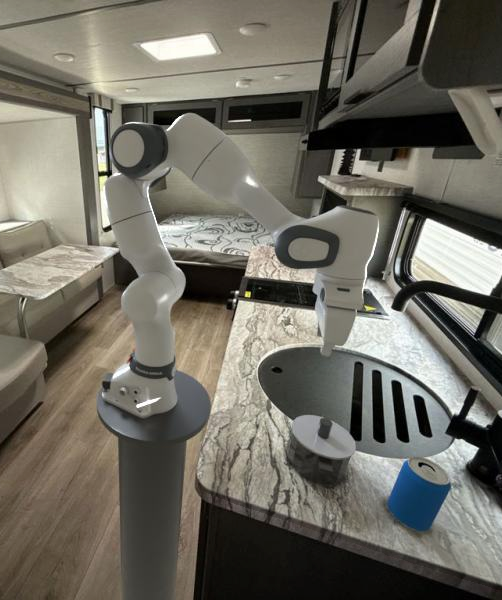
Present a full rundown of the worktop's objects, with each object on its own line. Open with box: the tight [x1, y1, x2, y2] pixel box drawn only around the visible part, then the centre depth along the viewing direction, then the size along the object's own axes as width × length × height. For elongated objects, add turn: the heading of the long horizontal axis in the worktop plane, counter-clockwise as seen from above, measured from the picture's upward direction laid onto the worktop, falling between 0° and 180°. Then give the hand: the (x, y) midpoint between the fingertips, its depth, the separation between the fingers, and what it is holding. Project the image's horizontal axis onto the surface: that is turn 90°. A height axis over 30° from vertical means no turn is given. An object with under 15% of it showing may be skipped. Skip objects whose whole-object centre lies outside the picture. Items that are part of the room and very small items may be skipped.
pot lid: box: [291, 414, 357, 460], centre depth 66 cm, size 12×12×5 cm
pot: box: [286, 412, 352, 486], centre depth 68 cm, size 12×17×7 cm
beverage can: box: [386, 455, 452, 532], centre depth 56 cm, size 6×6×12 cm
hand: (322, 344), depth 70 cm, fingers open, 8 cm apart
